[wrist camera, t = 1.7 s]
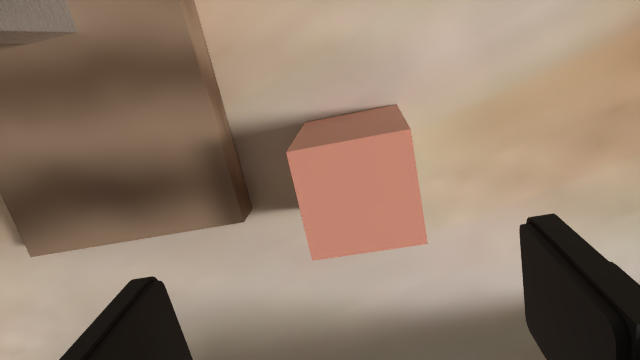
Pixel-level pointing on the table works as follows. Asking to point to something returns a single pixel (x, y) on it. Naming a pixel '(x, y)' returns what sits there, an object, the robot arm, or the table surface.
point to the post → (34, 21)
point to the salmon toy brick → (357, 183)
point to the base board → (116, 130)
